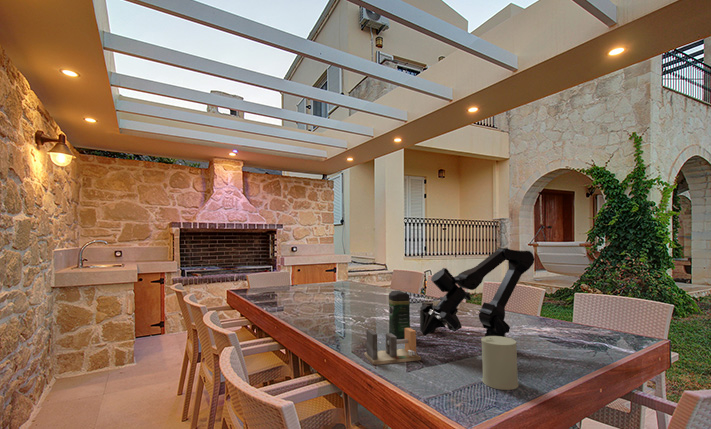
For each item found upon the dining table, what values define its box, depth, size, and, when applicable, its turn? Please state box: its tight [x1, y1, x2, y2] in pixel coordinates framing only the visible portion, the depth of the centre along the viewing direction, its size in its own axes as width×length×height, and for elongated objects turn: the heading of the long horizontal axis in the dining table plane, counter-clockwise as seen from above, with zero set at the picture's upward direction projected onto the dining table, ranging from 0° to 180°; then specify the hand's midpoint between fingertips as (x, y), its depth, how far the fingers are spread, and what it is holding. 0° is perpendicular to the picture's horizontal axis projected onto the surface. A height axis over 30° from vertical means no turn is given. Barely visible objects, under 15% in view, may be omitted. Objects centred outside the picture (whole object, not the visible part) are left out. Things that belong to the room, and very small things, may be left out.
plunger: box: [388, 327, 417, 355], centre depth 119 cm, size 9×8×8 cm
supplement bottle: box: [419, 301, 437, 333], centre depth 155 cm, size 7×7×12 cm
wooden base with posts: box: [363, 328, 422, 366], centre depth 119 cm, size 16×10×9 cm, turn 105°
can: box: [480, 336, 520, 391], centre depth 97 cm, size 9×9×12 cm
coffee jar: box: [388, 290, 411, 340], centre depth 146 cm, size 10×8×19 cm
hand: (423, 334), depth 122 cm, fingers closed
